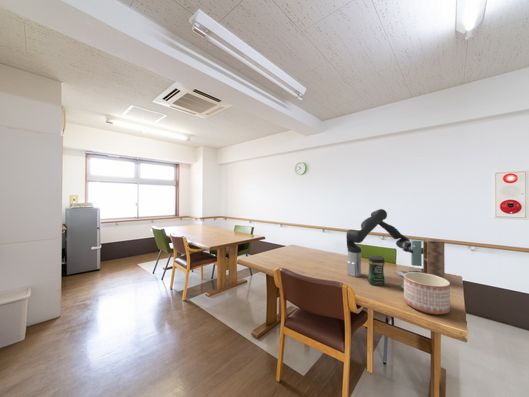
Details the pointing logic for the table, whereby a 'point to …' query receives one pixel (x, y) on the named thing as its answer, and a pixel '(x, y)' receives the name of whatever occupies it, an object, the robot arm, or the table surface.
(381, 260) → the coffee jar
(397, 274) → the handle
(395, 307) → the table surface
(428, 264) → the cabinet
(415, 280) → the planter
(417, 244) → the teal rectangular block
